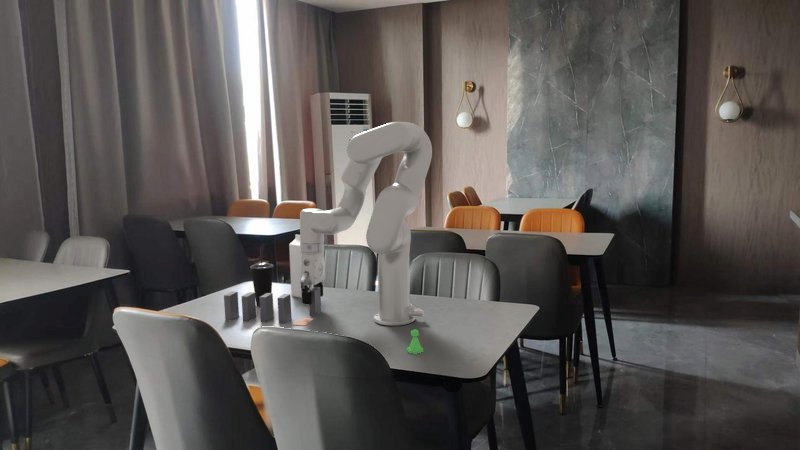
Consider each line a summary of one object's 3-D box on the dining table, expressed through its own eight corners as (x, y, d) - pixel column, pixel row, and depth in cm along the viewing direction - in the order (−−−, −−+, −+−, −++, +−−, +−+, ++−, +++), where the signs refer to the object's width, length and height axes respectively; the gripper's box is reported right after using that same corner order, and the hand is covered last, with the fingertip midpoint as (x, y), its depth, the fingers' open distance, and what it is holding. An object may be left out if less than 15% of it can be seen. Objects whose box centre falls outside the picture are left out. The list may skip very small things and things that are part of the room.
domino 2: (256, 317, 190) (255, 292, 189) (248, 321, 186) (247, 296, 184) (250, 316, 191) (249, 292, 190) (242, 321, 186) (241, 296, 185)
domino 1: (239, 316, 192) (237, 291, 191) (231, 320, 187) (229, 295, 186) (233, 315, 192) (231, 291, 191) (225, 320, 187) (223, 295, 186)
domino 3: (273, 318, 189) (272, 293, 188) (266, 322, 184) (265, 297, 183) (267, 317, 189) (266, 293, 188) (260, 322, 185) (259, 297, 184)
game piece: (403, 351, 157) (403, 329, 156) (414, 347, 160) (414, 325, 159) (415, 355, 154) (414, 332, 153) (426, 351, 157) (426, 328, 156)
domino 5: (321, 311, 196) (320, 287, 195) (315, 315, 191) (314, 291, 190) (315, 310, 196) (314, 287, 195) (309, 315, 191) (308, 290, 190)
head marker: (313, 319, 187) (313, 318, 187) (305, 325, 180) (305, 325, 180) (301, 318, 188) (301, 317, 188) (292, 325, 181) (292, 324, 181)
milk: (301, 298, 213) (299, 237, 210) (291, 295, 217) (288, 235, 214) (315, 294, 217) (312, 234, 214) (304, 292, 221) (301, 233, 218)
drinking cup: (269, 308, 200) (266, 249, 197) (248, 307, 201) (245, 249, 199) (278, 302, 207) (276, 245, 205) (258, 301, 209) (255, 245, 206)
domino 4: (291, 319, 188) (290, 294, 187) (284, 323, 183) (283, 298, 182) (285, 318, 188) (284, 293, 187) (278, 323, 183) (277, 297, 182)
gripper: (313, 253, 182) (313, 308, 184) (332, 243, 198) (332, 294, 201) (290, 251, 183) (290, 306, 186) (311, 242, 200) (311, 292, 203)
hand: (312, 299), depth 193 cm, fingers open, 9 cm apart
